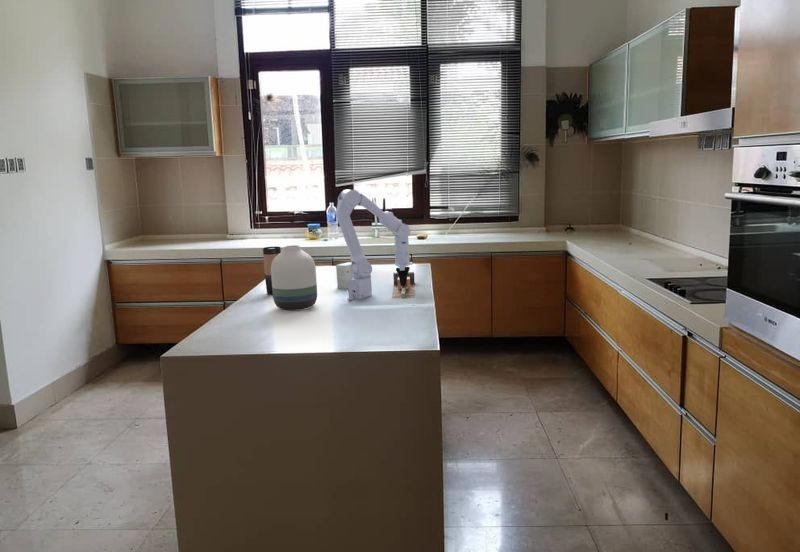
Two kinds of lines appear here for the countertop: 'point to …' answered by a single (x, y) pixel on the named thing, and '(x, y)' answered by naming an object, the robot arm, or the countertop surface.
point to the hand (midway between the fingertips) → (403, 284)
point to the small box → (344, 274)
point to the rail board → (404, 287)
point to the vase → (294, 279)
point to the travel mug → (269, 265)
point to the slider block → (406, 283)
